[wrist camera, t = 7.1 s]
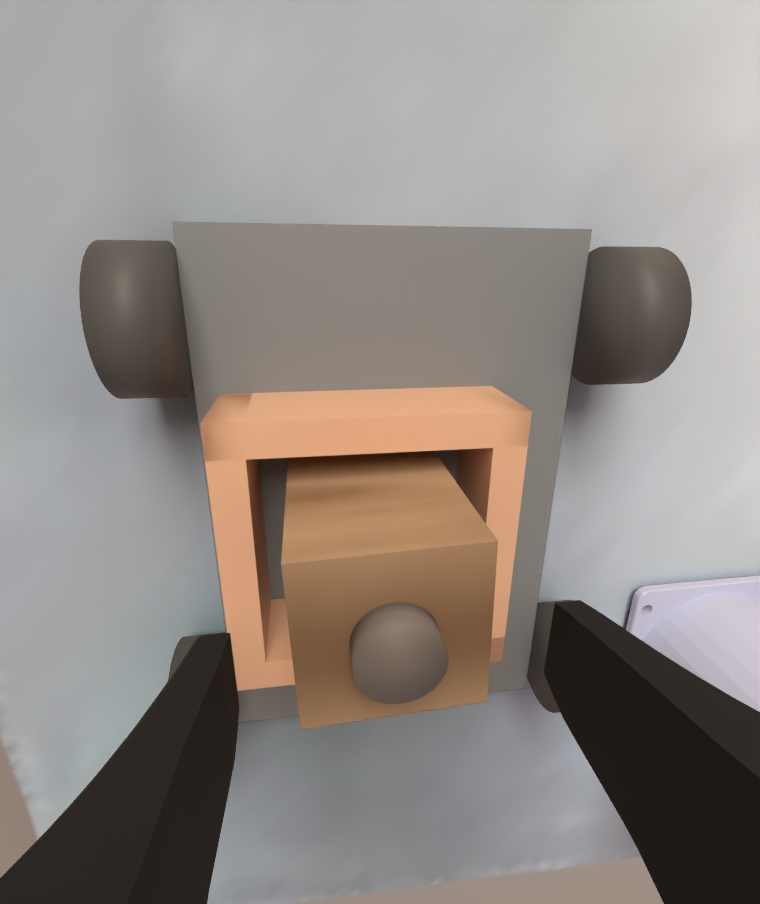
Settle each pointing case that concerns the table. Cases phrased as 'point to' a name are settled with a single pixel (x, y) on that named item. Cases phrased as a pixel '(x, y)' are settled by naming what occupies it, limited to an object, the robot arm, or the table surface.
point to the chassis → (377, 385)
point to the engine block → (385, 587)
